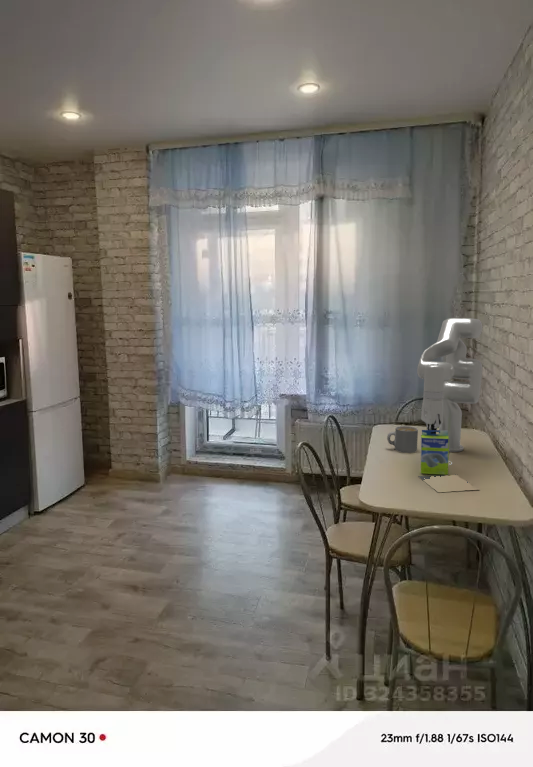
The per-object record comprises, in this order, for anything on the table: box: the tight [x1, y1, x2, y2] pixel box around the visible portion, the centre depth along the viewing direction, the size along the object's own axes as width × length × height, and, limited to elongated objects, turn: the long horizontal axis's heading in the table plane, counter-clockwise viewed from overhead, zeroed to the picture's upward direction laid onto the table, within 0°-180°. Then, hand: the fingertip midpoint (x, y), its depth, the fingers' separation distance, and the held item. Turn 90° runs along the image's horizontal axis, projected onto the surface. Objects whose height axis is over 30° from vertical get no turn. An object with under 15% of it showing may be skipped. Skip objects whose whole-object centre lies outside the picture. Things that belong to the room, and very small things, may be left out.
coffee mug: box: [386, 425, 419, 454], centre depth 241 cm, size 13×10×10 cm
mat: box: [418, 473, 469, 483], centre depth 197 cm, size 17×16×1 cm
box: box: [420, 429, 450, 475], centre depth 206 cm, size 10×4×17 cm, turn 74°
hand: (431, 439), depth 210 cm, fingers closed
